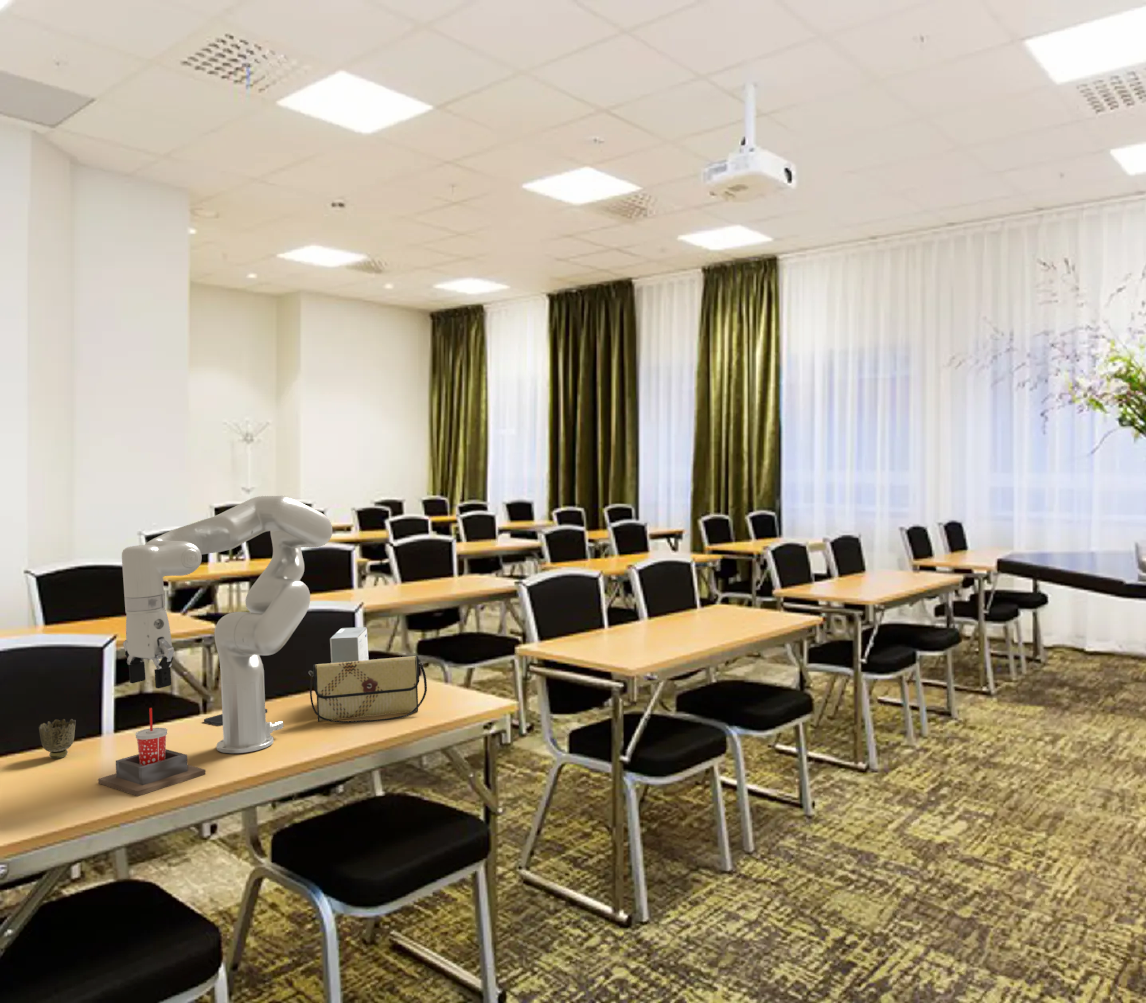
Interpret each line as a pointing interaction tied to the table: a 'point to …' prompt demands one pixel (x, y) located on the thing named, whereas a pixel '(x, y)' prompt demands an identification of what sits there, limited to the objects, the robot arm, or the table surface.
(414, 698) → the clutch purse
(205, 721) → the phone
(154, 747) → the beverage cup
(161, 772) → the socket board
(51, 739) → the cup
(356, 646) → the hard drive box
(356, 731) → the table surface
